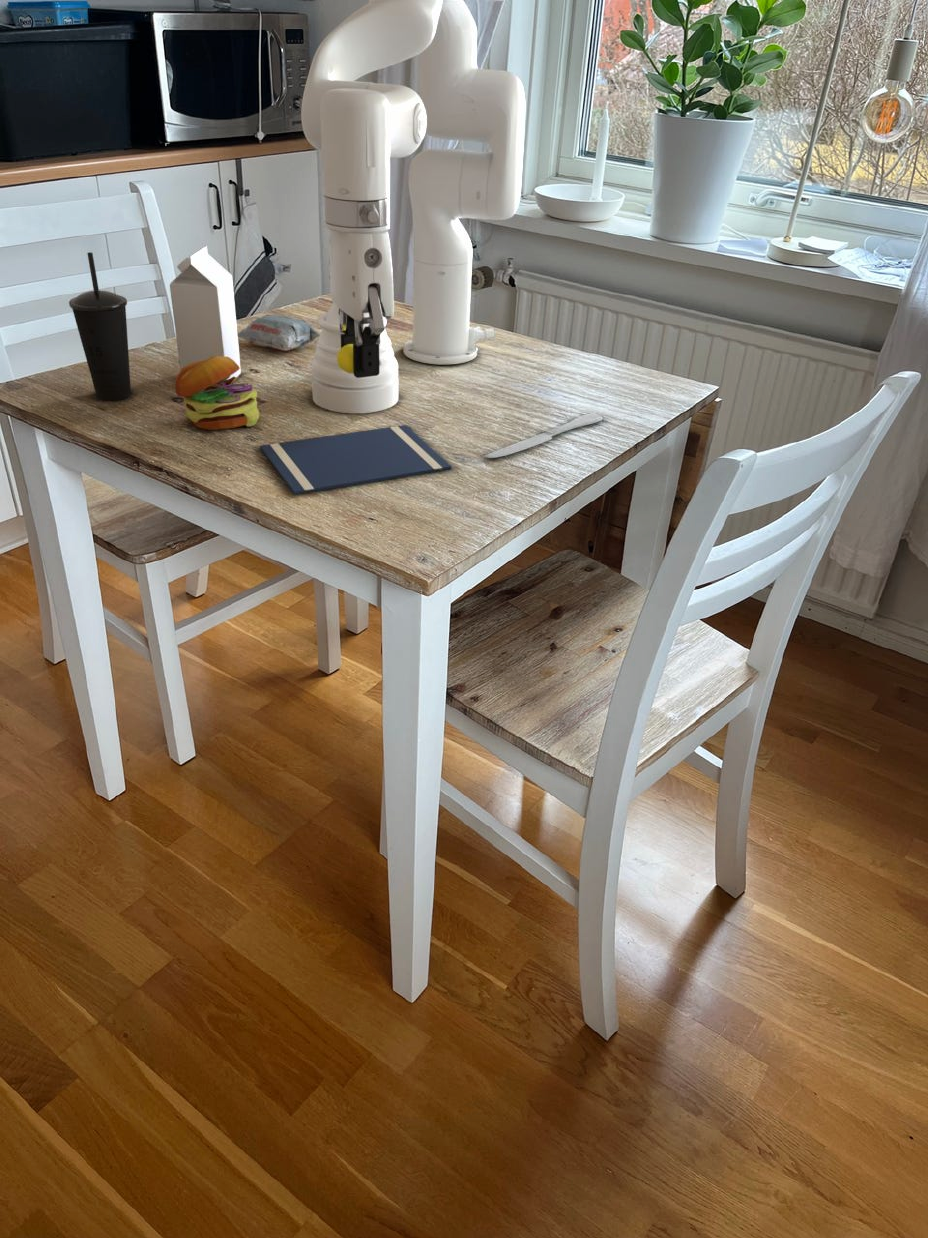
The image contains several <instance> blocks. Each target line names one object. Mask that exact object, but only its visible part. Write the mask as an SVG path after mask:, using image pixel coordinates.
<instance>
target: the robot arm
mask: <svg viewBox="0 0 928 1238" xmlns="http://www.w3.org/2000/svg"><path fill="white" fill-rule="evenodd" d="M486 1H488V2H502V1H504V0H486ZM477 41H478V29H477V25H476V21H475V19H474V17H473V14H472V13H471V11H470V9H469V8H468V5H467V4H466V2H465V1H464V0H368V3H366V4H365V5H363V6H361V7H360V8H358V9H357V10H356V11H353V13H351V14H350V15H349V16H347V17H346V18H345V19H344V20H343V21H342V22H341V23H339V24H338V25H337V26H336V27H334V29H333V30H331V31H330V32H329V33H328V35H326V36H325V38H323V40H322V41H321V42H320V44H319V45H318V48H317V49H316V51H315V52H314V55H313V58H312V61H311V64H310V68H309V72H308V74H307V78H306V82H305V86H304V90H303V95H302V99H301V108H300V121H301V127H302V131H303V134H304V137H305V138H306V141H307V142H308V143H309V144H310V145H311V146H312V147H313V148H315V149H316V150H318V151H321V171H322V172H321V173H322V193H323V196H322V197H323V198H322V199H323V221H324V223H323V224H324V228H326V229H327V230H329V238H328V239H329V240H328V241H329V242H328V245H329V246H328V279H329V280H328V281H329V293H330V299H331V301H332V303H334V304H335V305H336V306H337V307H338V308H339V312H338V313H339V315H340V326H339V327H340V332H341V333H345V334H341V348H342V347H343V346H345V345H347V344H353V371H354V376H355V377H356V378H361V377H370V376H377V375H379V344H380V334H381V333H382V332H383V331H384V330H386V326H385V325H384V320H383V317H385V318H386V320H389V319H392V318H393V316H394V315H395V297H394V274H393V259H392V250H391V242H390V236H389V229H390V228H391V159H392V158H393V159H401V158H402V159H403V158H406V157H408V156H411V155H412V154H414V153H415V152H416V151H417V150H418V148H419V147H420V146H421V144H422V142H423V140H424V138H425V136H426V135H427V136H428V137H431V138H435V139H439V140H440V139H441V140H447V141H449V140H450V141H459V142H460V141H461V142H473V143H486V144H488V145H489V147H490V149H491V151H480V150H479V151H478V150H470V149H460V148H459V149H457V148H444V147H441V148H440V147H439V148H428V149H425V150H422V151H420V152H418V153H416V155H415V156H414V157H413V158H412V160H411V162H410V164H409V167H408V174H407V175H408V177H407V178H408V180H407V181H408V182H407V183H408V191H409V199H410V204H411V205H410V206H411V212H412V227H413V267H412V268H413V270H412V271H413V272H412V274H413V276H412V277H413V278H412V281H413V282H412V283H413V286H412V339H409V340H408V341H406V342H405V343H404V344H403V354H404V356H406V357H407V358H408V359H410V360H412V361H415V362H419V363H423V364H430V365H439V366H442V365H443V366H444V365H448V366H449V365H459V364H464V363H468V362H470V361H473V360H474V359H476V357H477V356H478V347H477V346H476V345H475V344H478V343H479V342H481V341H483V342H487V341H494V340H495V339H496V338H495V337H496V332H495V329H494V328H493V327H492V328H491V327H490V328H484V329H483V328H482V327H481V326H471V325H470V322H471V321H470V319H471V318H470V317H471V297H472V295H471V294H472V274H473V273H472V272H473V245H472V241H471V238H470V236H469V234H468V232H467V230H466V228H465V227H464V225H463V224H462V222H461V220H460V219H474V220H486V221H487V220H488V221H507V220H509V219H512V218H513V217H514V216H515V214H516V213H517V210H518V208H519V205H520V200H521V192H522V181H523V180H522V179H523V161H524V160H523V159H524V145H525V144H524V142H525V124H526V98H525V90H524V85H523V83H522V81H521V79H520V78H519V77H518V75H517V74H515V73H513V72H511V71H507V70H501V69H489V68H487V69H486V68H479V66H478V64H477V49H478V48H477V46H478V45H477V43H478V42H477ZM416 56H417V92H416V91H415V90H413V89H412V88H410V87H408V86H406V85H400V84H393V83H379V82H372V81H357V80H358V79H360V78H362V77H364V76H365V75H368V74H370V73H373V72H375V71H378V70H382V69H385V68H388V67H391V66H394V65H397V64H399V63H403V62H404V61H407V60H409V59H411V58H414V57H416ZM364 313H369V317H364ZM369 323H370V324H369ZM363 324H369V326H367V327H365V328H364V330H363ZM362 331H363V332H362Z"/></svg>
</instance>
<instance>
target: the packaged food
mask: <svg viewBox="0 0 928 1238" xmlns="http://www.w3.org/2000/svg"><path fill="white" fill-rule="evenodd" d="M237 334H238V338H241V339H243V340H245V341H246V343H248V344H250V345H254V346H259V347H263V348H267V349H270V350H271V349H272V350H275V351H284V352H286V351H290V350H295V349H298V348H301V347H303V346H306V345H308V344H310V343H312V342H313V341H314V340H316V339H318V338H319V337H320V335H321V333H319V332H318V330H316V329H315V328H314V327H313V326H312V325H311V324H309V323H308V322H307V321H306V320H305V321H304V320H301V319H297V318H293V317H289V316H284V315H280V314H265V315H263V316H260V317H258V318H256V319H255V320H253V321H252V322H251V323H249V324H248V325H247V326H246V327H245V328H243V329H242V330H240V331H239V332H237Z"/></svg>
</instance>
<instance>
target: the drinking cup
mask: <svg viewBox="0 0 928 1238" xmlns="http://www.w3.org/2000/svg"><path fill="white" fill-rule="evenodd" d="M94 259H95V258H94V253H93V252H90V251H89V252H87V260H88V264H89V270H90V277H91V283H92V289H93V290H89V291H85V292H82V293H81V294H78V295H77V296H75V297H72V298H71V299H69V301H68V306H69V308H70V309H71V310H72V313H73V317H74V320H75V323H76V327H77V331H78V334H79V338H80V342H81V345H82V349H83V352H84V356H85V359H86V363H87V366H88V370H89V375H90V377H91V380H92V384H93V388H94V392H95V395H96V397H97V399H98V400H101V401H108V402H110V401H111V402H112V401H115V402H116V401H121V400H125V399H127V398H129V397H131V395H132V387H131V385H132V384H131V370H130V355H129V340H128V323H127V322H128V321H127V308H126V307H127V305H128V299H127V297H125V296H122V295H120V294H116V293H114V292H111V291H107V290H100V289H99V284H98V283H99V282H98V275H97V272H96V271H97V269H96V266H95V260H94Z"/></svg>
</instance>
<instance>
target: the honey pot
mask: <svg viewBox="0 0 928 1238" xmlns="http://www.w3.org/2000/svg"><path fill="white" fill-rule="evenodd" d="M338 312H339V308H338V307H337V306H336V305H335V304H334V303H333V302H332V303H331V304H330V307H329V310H328V311H324V312H323V313H321V314H319V316H317V319H316V322H317V325H318V326H319V327H320V328H321V332H320V336H319V337H318V338H317V340H316V345H317V347H316V348H315V350H314V357H313V359H311V363H310V364H311V365H310V366H311V367H310V368H311V388H312V390H311V391H312V392H311V393H312V401H313V402H314V404H315V405H316V406H319V407H320V408H322V409H324V410H328V411H332V412H337V413H344V414H367V413H368V414H369V413H377V412H380V411H385V410H387V409H389V408H391V407H393V406H395V405H396V404H397V403H398V402H399V363H398V360H397V359H396V357H395V353H394V349H393V347H392V341H391V339H390V338H389V335H388V333H387V330H386V329H385V330H384V331H383V332H382V333H381V334H380V344H379V359H380V361H381V365H380V366H379V375H377V376H370V377H361V378H356V377H355V376H354V374H350V373H347V372H345V371H344V370H342V369H341V368H340V367H339V365H338V362H337V354H338V352H339V350H340V349H341V334H345V333H341V332H340V327H339V326H340V315H339V313H338ZM364 317H369V313H364ZM383 320H384V325H385V327H386V326H387V323H388V321H387V318H385V317H383ZM369 324H370V323H369ZM369 324H363V330H364V328H365V327H367V326H369ZM362 332H363V331H362Z"/></svg>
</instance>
